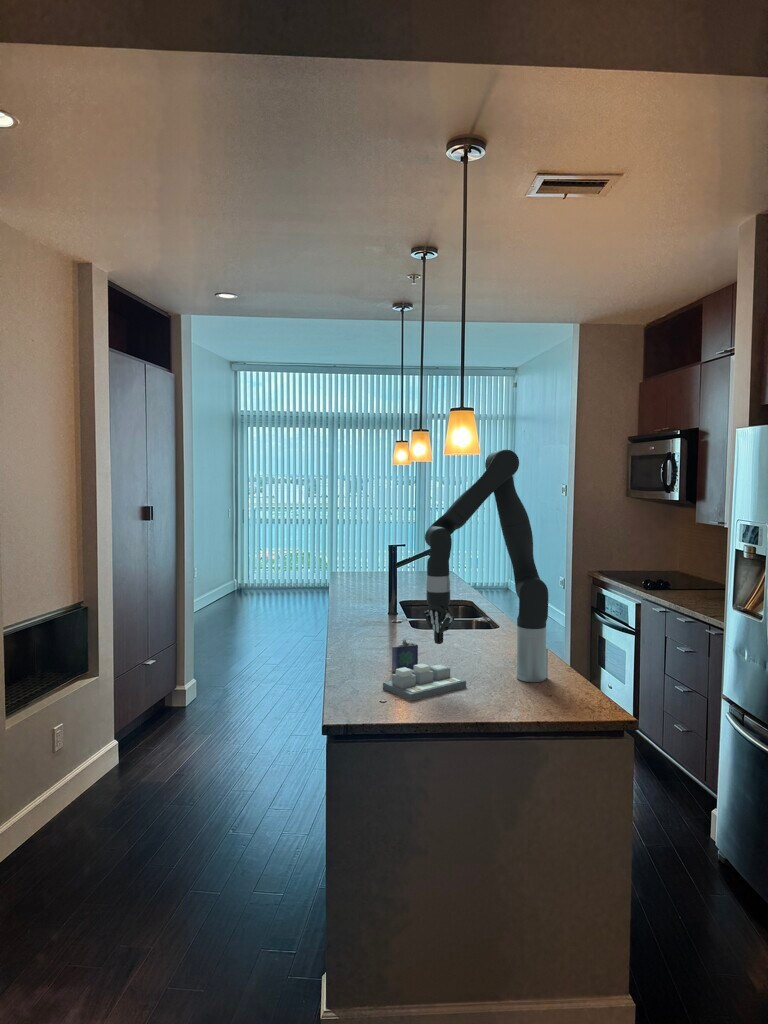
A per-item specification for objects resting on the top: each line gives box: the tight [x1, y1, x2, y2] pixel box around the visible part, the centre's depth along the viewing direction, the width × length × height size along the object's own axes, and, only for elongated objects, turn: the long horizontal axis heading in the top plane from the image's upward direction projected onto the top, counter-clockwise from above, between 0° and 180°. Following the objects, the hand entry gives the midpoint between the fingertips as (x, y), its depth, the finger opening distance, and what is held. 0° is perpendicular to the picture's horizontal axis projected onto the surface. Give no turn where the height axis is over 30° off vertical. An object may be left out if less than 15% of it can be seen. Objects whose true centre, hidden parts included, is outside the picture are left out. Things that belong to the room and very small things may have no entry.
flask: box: [391, 639, 419, 674], centre depth 227 cm, size 9×3×11 cm, turn 109°
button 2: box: [430, 664, 448, 670], centre depth 214 cm, size 4×4×3 cm
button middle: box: [414, 663, 431, 674], centre depth 210 cm, size 4×4×3 cm
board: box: [382, 663, 467, 702], centre depth 209 cm, size 22×14×5 cm, turn 126°
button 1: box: [395, 667, 412, 678], centre depth 206 cm, size 4×4×3 cm
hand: (438, 643), depth 214 cm, fingers closed
